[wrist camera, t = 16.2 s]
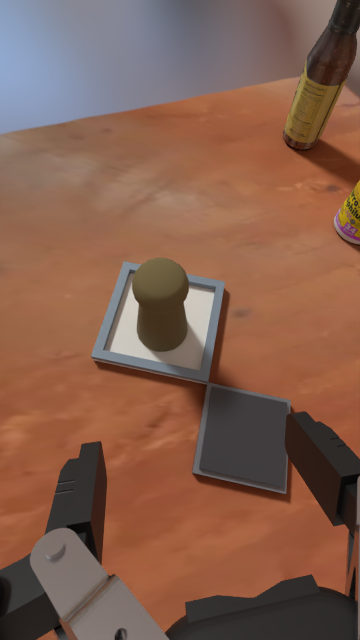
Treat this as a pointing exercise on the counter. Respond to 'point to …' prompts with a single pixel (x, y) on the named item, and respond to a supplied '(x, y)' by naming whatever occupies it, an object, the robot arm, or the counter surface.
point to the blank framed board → (182, 362)
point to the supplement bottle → (349, 217)
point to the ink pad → (243, 438)
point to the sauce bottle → (323, 77)
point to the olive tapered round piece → (161, 304)
